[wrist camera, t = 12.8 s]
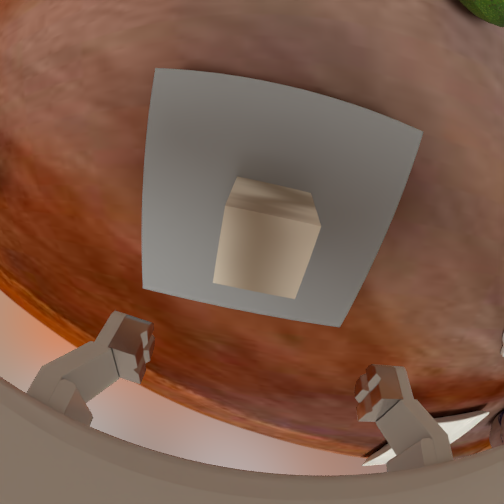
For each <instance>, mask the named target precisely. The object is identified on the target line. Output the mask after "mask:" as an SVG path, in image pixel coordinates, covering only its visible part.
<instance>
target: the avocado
mask: <svg viewBox="0 0 504 504" xmlns="http://www.w3.org/2000/svg"><path fill="white" fill-rule="evenodd" d="M459 1H460V2H461V3H462V4H463V5H464V6H465V7H466V8H467V9H468V10H469V11H471V12H472V13H473V14H474V15H476V16H477V17H479V18H481V19H483V20H485V21H487V22H489V23H492V24H494V25H497V26H499V27H504V0H459Z"/></svg>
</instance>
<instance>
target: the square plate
mask: <svg viewBox="0 0 504 504" xmlns="http://www.w3.org/2000/svg"><path fill="white" fill-rule="evenodd" d="M488 414H489V412H485V411H474V412H469V413H464V414H458V415H453V416H446V417H440V418H433V419H434V420H435V421H436V422H437V423H438V424H439V425H440V426H441V428H442V429H443V430H444V431H445V432H446V433H447V434H448V438H449V442H450V444H451V443H452V442H454V441H455V440H457V439H458V438H460V437H461V436H462V435H464V434H465V433H466V432H468V431H469V430H470V429H472V428H473V427H474V426H475V425H476V424H478V423H479V422H480V421H481V420H482V419H483V418H485V417H486V416H487V415H488ZM395 456H396V454H395V452H394V451H393V449H392V448H391V446H390V445H389V443H388V444H387V445H385V446H384V447H382V448H381V449H380V450H379V451H377V452H376V453H374V454H373V455H371V456H370V457H369V458H367V459H366V461H365V462H364V463H363V464H362V466H369V465H380V464H386V463H387V462H388V461H389V460H390V459H392V458H394V457H395Z"/></svg>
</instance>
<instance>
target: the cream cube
mask: <svg viewBox="0 0 504 504" xmlns="http://www.w3.org/2000/svg"><path fill="white" fill-rule="evenodd" d="M320 229H321V224H320V221H319V217H318V214H317V211H316V207H315V204H314V201H313V198H312V195H311V193H309V192H305V191H301V190H297V189H293V188H288V187H284V186H280V185H275V184H271V183H266V182H261V181H257V180H252V179H247V178H242V177H237V178H236V180H235V183H234V185H233V187H232V190H231V192H230V195H229V197H228V200H227V202H226V205H225V209H224V215H223V221H222V227H221V233H220V239H219V245H218V252H217V258H216V264H215V271H214V278H213V283H216V284H221V285H226V286H230V287H235V288H240V289H245V290H250V291H255V292H260V293H265V294H270V295H275V296H281V297H286V298H291V299H295V298H296V295H297V292H298V290H299V287H300V285H301V282H302V279H303V276H304V274H305V271H306V268H307V266H308V263H309V260H310V257H311V254H312V252H313V249H314V246H315V243H316V240H317V237H318V234H319V232H320Z"/></svg>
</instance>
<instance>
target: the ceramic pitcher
mask: <svg viewBox="0 0 504 504" xmlns="http://www.w3.org/2000/svg"><path fill="white" fill-rule="evenodd" d="M489 439H490V444H491V446H492V448H495V447H497V446H500V445H504V410H503V411H502V412H501V413H500V414H499V415H497V417H496V418H495V419H494V421H493V423H492V426H491V431H490V437H489Z"/></svg>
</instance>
